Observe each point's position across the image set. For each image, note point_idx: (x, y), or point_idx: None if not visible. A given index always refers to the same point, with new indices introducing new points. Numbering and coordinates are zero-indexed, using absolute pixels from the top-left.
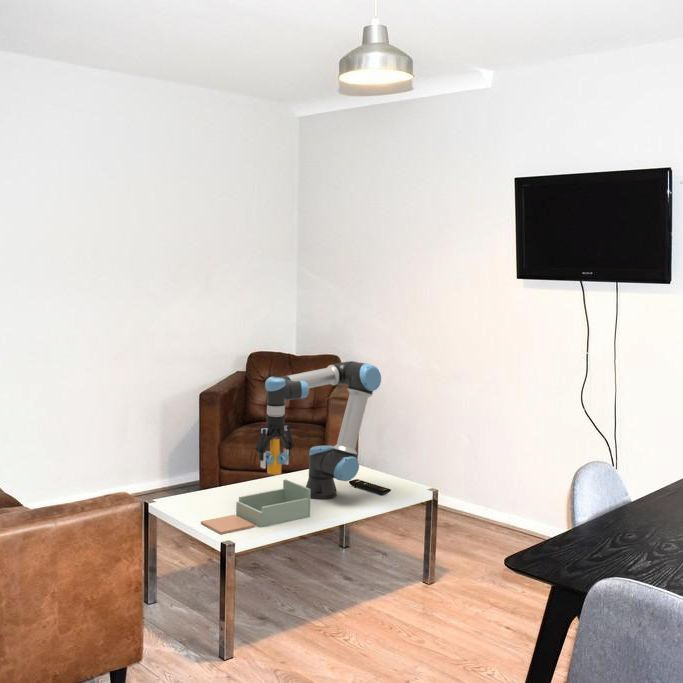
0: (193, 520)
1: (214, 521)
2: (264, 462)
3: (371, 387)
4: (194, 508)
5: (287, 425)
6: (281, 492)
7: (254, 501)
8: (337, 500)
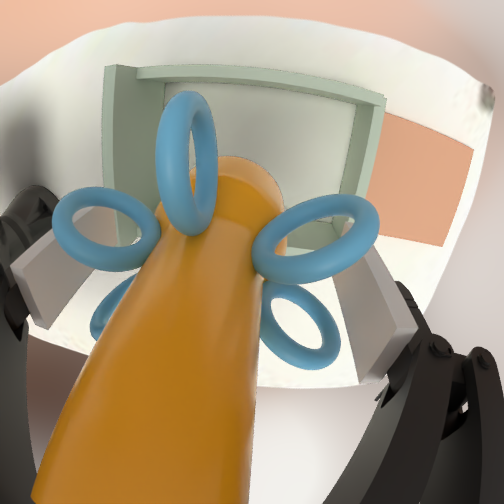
0: (427, 272)
1: (428, 222)
2: (376, 252)
3: None
4: None
5: None
6: None
7: None
8: (30, 164)
